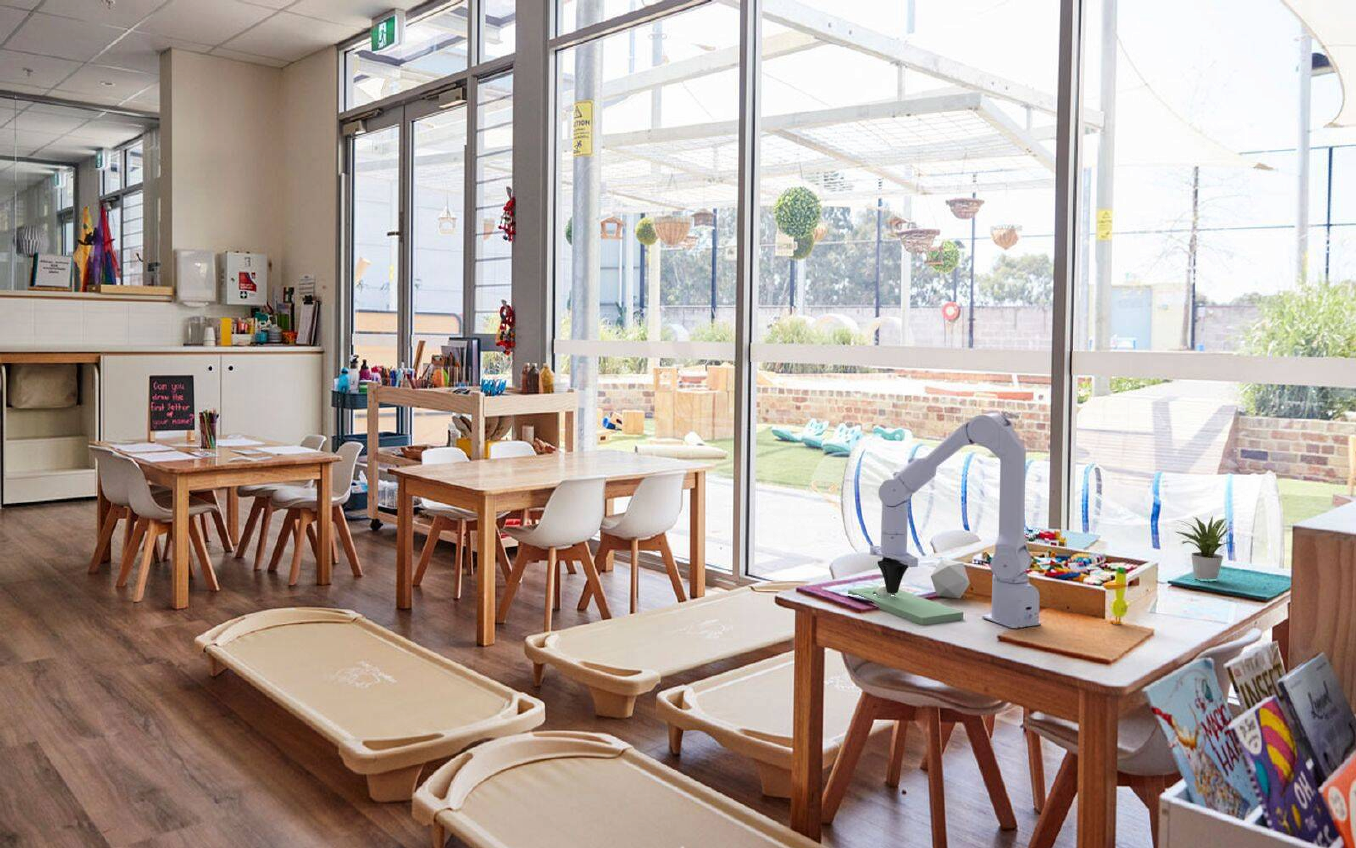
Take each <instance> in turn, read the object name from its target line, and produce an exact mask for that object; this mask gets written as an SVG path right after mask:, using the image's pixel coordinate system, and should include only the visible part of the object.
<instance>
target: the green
mask: <svg viewBox="0 0 1356 848" xmlns="http://www.w3.org/2000/svg"><path fill="white" fill-rule="evenodd" d="M879 586H880V585H879ZM879 586H871V587H863V588H862V587H861V588H855V589H854V588H853V589H848V591H847V595H848V594H852V595H859V596H861V597H864V598H866V599H868V600H869V601H872V602H874V603H875V604H876V605H877V606H878V607H879V608H878V609H880V610H882V611H884V612H888V613H889V614H893V615H895V616H898V617H900V618H903V619H905V620H908V621H910V622H913V623H916V624H919V625H921V626H924V625H930V624H938V623H939V624H940V623H946V622H953V621H959V620H964V611H961V610H958V609H955V608H953V607H950V606H947V605H944V604H942V603H938V602H935V601H932V600H930V599H927V598H924V597H921V596H918V595H915V594H913V593H909V592H906V591H903V590H901V589H899V590H898V593H892V595H894V596H888V597H886V596H877V595H874V594H876V590H877V588H878V587H879Z"/></svg>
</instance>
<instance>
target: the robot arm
mask: <svg viewBox="0 0 1356 848" xmlns="http://www.w3.org/2000/svg"><path fill="white" fill-rule="evenodd" d="M974 444H977V445H979V446H981V447H983V448H986V449H987V450H989V451H990V452H991V453H993V455H995V456H996V457H997V458H998V459H999V460H1000V463H999V465H1000V466H999V473H1000V474H999V504H998V505H999V507H998V508H999V509H998V510H999V511H998V536H997V539H996V542H995V546H994V547H995V548H994V550H995V551H994V554H993V556H992V558H991V559H990V564H989V565H990V570H991V572H992V574H993V575H992V583H991V584H992V586H991V591H992V592H991V607H990V608H991V613H990V614H983V615H982V616H981V617H982V618H983V619H986V620H987V621H991V622H994V623H996V624H999V625H1002V626H1006V627H1008V628H1011V629H1018V628H1017V627H1020V628H1026V626H1027V627H1032V626H1038V625H1042V622H1041V621H1040V619H1039V617H1040V601H1041V600H1040V598H1041V597H1040V593H1039V592H1040V591H1039V590H1038V588H1037V587H1036V586H1034V585H1032V584H1031V583H1030V581H1029V576H1028V573H1027V571H1028V570H1029V568H1030V567H1031V565H1032V555H1031V553H1030V551H1029V549H1028V539H1027V537H1026V535H1025V513H1026V512H1025V510H1026V509H1025V506H1026V466H1027V465H1026V461H1027V459H1026V458H1027V450H1026V447H1025V445H1024V444H1023V442H1022V440H1021V439H1020V437H1019V435H1018V433H1017V432H1016V430H1015V427H1014V423H1013V421H1011V420H1010V419H1008V418H1007V417H1005V416H1004V414H1002V413H1000V412H995V411H991V412H988V413H985V414H978V415H975V416H973V417H972V418H971V419H970V421H967V422H965V423H963V424H961V425H960V426H959V427H958V428H956V429H955V430H954V431H953V432H952V433H950V435H948V437H946V438H945V439H944V440H943V441H942V442H941V443H939V445H937V446H936V447H935V448H934V449H933V450H931V452H930V453H929V454H928V455H927V456H925V455H917V456H916V457H915V456H913V457H910V458H909V459H908V460H907V462H908V464H907V465H905V466H904V467H903V468H902V469H900V470H899V471H895V472H894V473H892V476H893V477H892V478H891V479H889V478H888V479H885V480H884V481H883V482H882V483H881V485H880V486H879V487H878V497H879V500H880V501H881V502H882V503H881V524H880V545H871V546H869V547H870V548H869V549H870V550H869V551H870V552H869V555H871V556H876V557H880V558H882V560H877V565H878V567H879V569H880V572H881V574H882V576H883V581H884V585H886V590H887V593H890V594H892V593H898V590H900V585H901V583H902V580H903V577H904V575H905V573H906V571H907V569H908V568H917V567H918V566H919V557H916V556H914V555H912V554H911V553H909V552H908V550H907V549H908V525H909V523H908V522H909V520H908V519H909V512H908V511H909V508H908V507H909V501H910V500H911V498H912V497H913V494H915V493H916V492H918V491H919V490H920V489H921V488H922V487H924V486H925V485H926V484H928V483H929V482H931V480H932V479H934V478H935V477H936V475H937V474H936V473H937V469H938V467H939V466H940V465H942V464H943V463H944V462H945V461H947V460H948V459H949V458H951V457H952V456H953V455H955V454H956V453H957V452H958V451H960V450H961V449H963V448H964V447H965V446H971V445H974ZM1021 626H1022V627H1021Z"/></svg>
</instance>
